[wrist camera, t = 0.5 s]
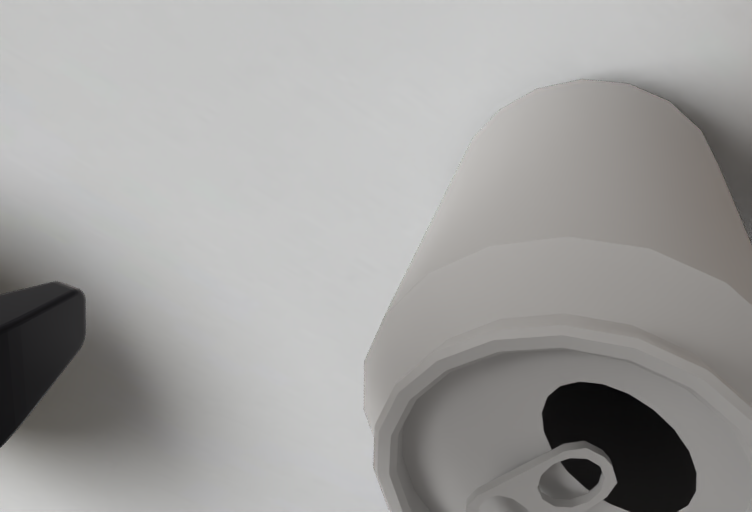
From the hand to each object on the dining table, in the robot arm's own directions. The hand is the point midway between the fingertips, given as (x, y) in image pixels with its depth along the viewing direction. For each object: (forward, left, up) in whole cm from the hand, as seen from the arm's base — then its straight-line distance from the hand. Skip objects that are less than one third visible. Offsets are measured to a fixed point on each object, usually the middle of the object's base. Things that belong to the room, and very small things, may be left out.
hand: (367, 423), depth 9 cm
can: (-3, -2, -13) cm, 14 cm away
